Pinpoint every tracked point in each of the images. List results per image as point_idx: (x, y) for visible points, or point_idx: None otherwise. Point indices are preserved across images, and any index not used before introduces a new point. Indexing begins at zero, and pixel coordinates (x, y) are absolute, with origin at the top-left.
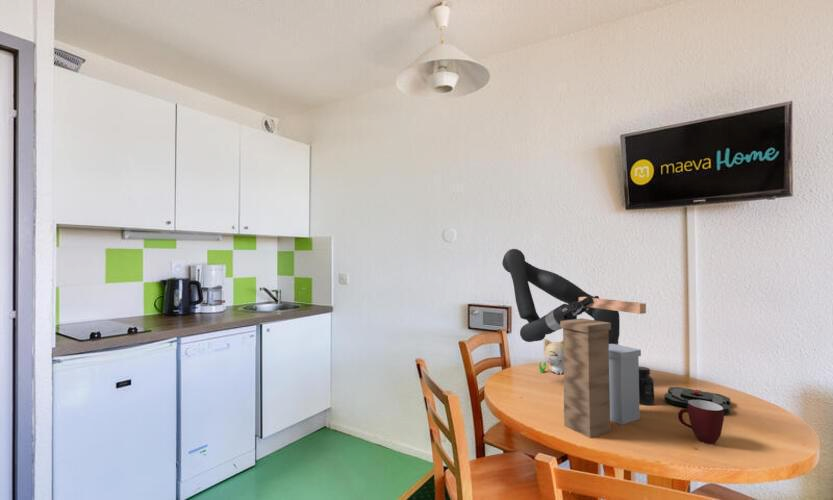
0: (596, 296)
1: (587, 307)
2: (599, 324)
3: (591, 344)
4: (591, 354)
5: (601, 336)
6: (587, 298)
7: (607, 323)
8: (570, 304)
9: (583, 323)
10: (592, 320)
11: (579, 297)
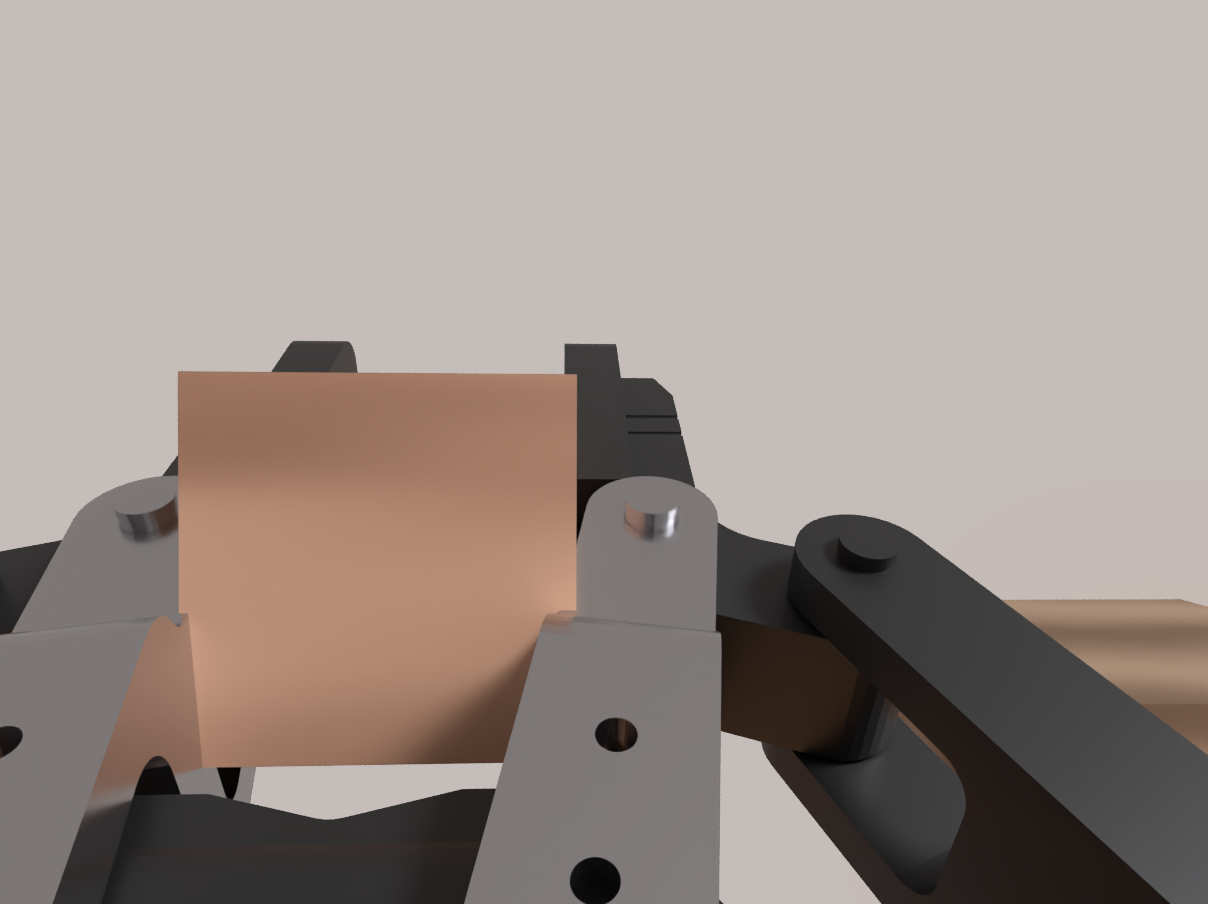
0: (349, 358)
1: (243, 787)
2: (1031, 600)
3: None
4: None
5: None
6: (661, 398)
7: None
8: (1069, 697)
9: (1194, 623)
10: None
11: (574, 386)
